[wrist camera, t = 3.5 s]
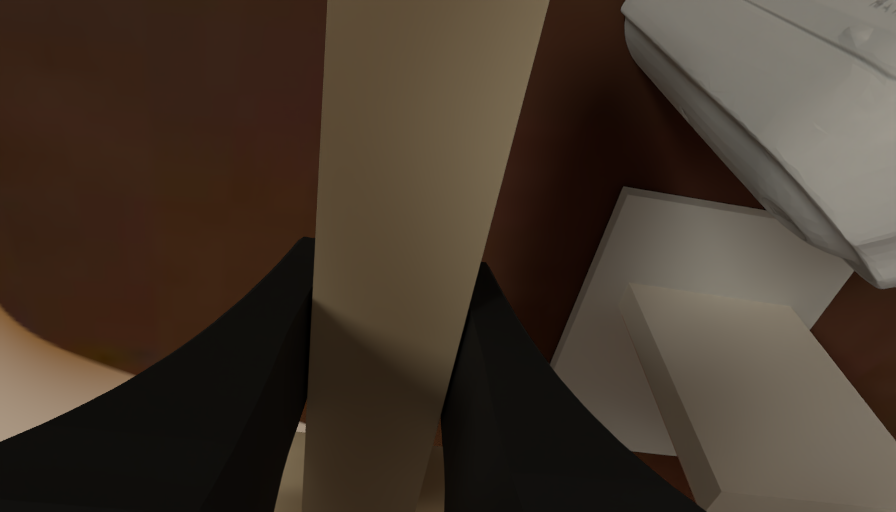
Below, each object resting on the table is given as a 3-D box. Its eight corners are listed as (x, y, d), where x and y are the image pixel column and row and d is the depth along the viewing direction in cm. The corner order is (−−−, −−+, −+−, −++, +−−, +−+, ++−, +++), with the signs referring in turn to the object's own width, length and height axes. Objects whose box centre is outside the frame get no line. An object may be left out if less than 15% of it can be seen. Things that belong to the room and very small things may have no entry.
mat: (869, 227, 22) (879, 236, 21) (707, 450, 30) (712, 460, 29) (623, 186, 20) (627, 194, 20) (523, 429, 28) (524, 439, 28)
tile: (790, 306, 23) (953, 515, 16) (771, 332, 24) (918, 543, 17) (628, 282, 22) (721, 491, 15) (615, 310, 23) (697, 522, 16)
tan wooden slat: (636, -115, 9) (743, -97, 6) (457, 460, 18) (461, 593, 15) (261, -198, 9) (148, -230, 5) (267, 440, 17) (227, 575, 14)
